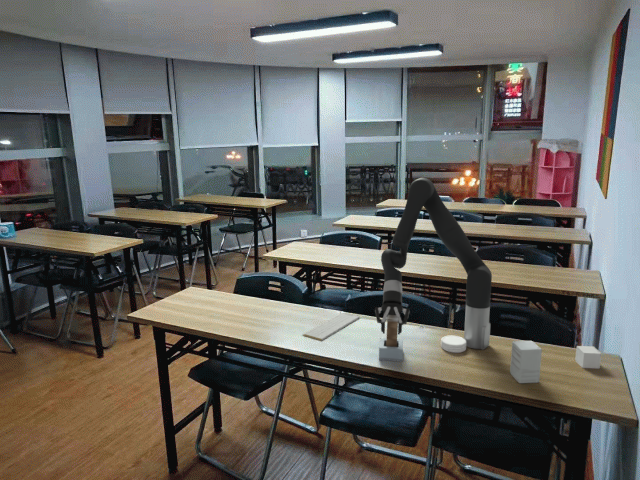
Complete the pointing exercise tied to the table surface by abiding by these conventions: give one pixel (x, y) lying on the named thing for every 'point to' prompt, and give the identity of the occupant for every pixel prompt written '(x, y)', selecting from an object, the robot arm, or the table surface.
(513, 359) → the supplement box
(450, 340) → the white round disc
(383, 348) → the grey square collar
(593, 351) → the white cube
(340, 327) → the baseboard
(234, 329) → the table surface
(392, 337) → the rail post
